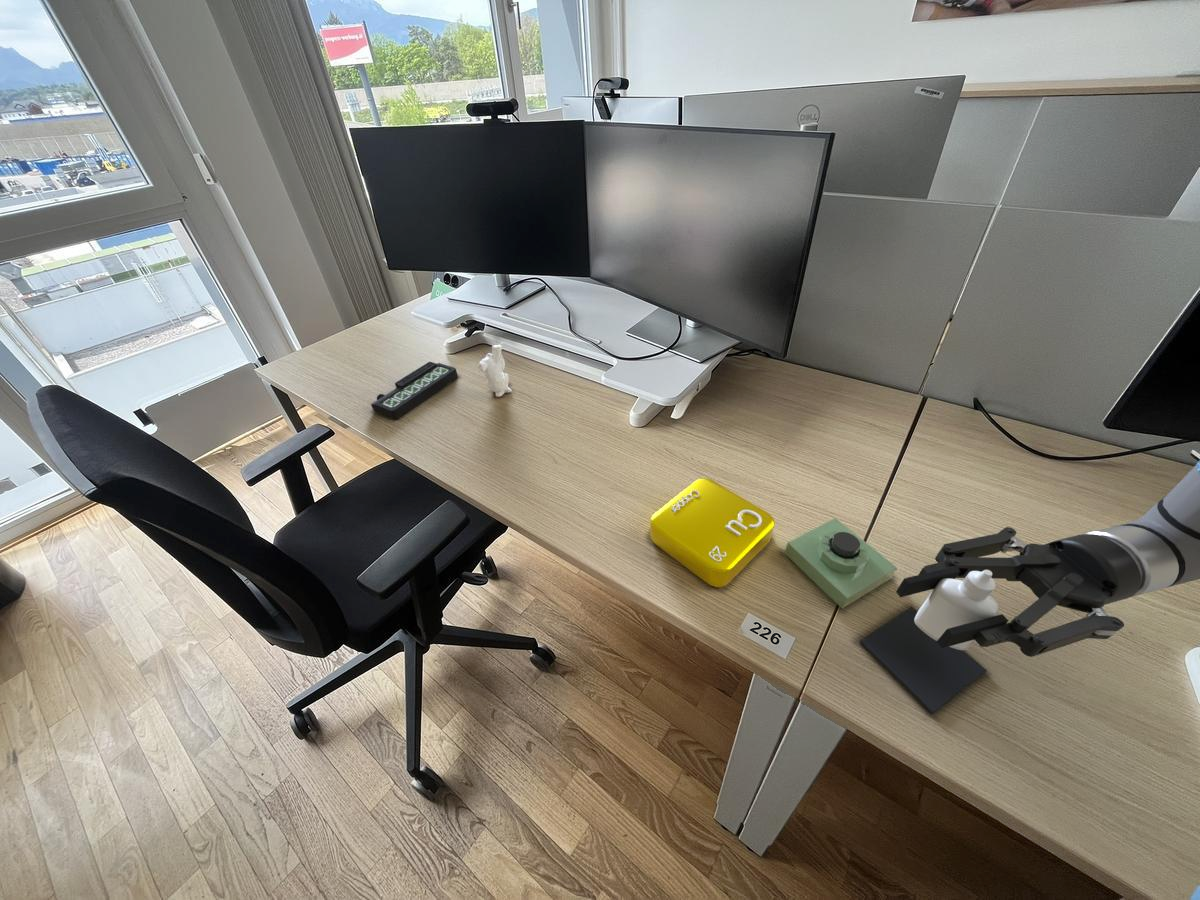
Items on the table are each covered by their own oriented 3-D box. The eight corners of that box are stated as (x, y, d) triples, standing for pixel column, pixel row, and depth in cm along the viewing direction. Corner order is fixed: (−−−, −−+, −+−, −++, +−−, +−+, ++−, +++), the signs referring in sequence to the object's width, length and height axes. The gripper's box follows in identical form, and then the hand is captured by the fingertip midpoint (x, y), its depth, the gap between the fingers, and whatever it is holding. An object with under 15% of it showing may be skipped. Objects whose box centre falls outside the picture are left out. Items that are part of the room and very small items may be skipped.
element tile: (701, 490, 84) (703, 471, 81) (775, 536, 75) (781, 516, 72) (644, 537, 77) (644, 518, 74) (719, 593, 68) (722, 574, 65)
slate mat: (984, 672, 57) (987, 670, 57) (931, 714, 54) (933, 712, 54) (910, 608, 64) (911, 606, 64) (859, 642, 61) (860, 640, 61)
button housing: (891, 578, 68) (901, 559, 65) (841, 608, 65) (851, 590, 62) (830, 528, 75) (838, 509, 73) (784, 553, 72) (790, 535, 69)
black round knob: (862, 552, 67) (866, 545, 66) (844, 563, 66) (848, 555, 65) (842, 535, 69) (845, 528, 68) (824, 545, 68) (827, 537, 67)
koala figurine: (504, 380, 118) (494, 337, 111) (522, 387, 115) (514, 344, 107) (479, 396, 113) (467, 352, 106) (498, 404, 110) (487, 360, 102)
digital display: (429, 358, 123) (456, 367, 119) (432, 368, 125) (459, 377, 121) (363, 399, 110) (391, 410, 106) (368, 410, 112) (396, 421, 108)
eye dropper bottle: (945, 659, 52) (996, 602, 45) (906, 616, 57) (947, 557, 49) (976, 647, 53) (1032, 588, 45) (935, 605, 57) (980, 545, 50)
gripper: (1171, 658, 48) (976, 715, 46) (1014, 526, 62) (858, 563, 59) (1229, 621, 43) (1016, 682, 41) (1045, 487, 57) (876, 526, 55)
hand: (922, 612), depth 50 cm, fingers closed on eye dropper bottle, 5 cm apart
